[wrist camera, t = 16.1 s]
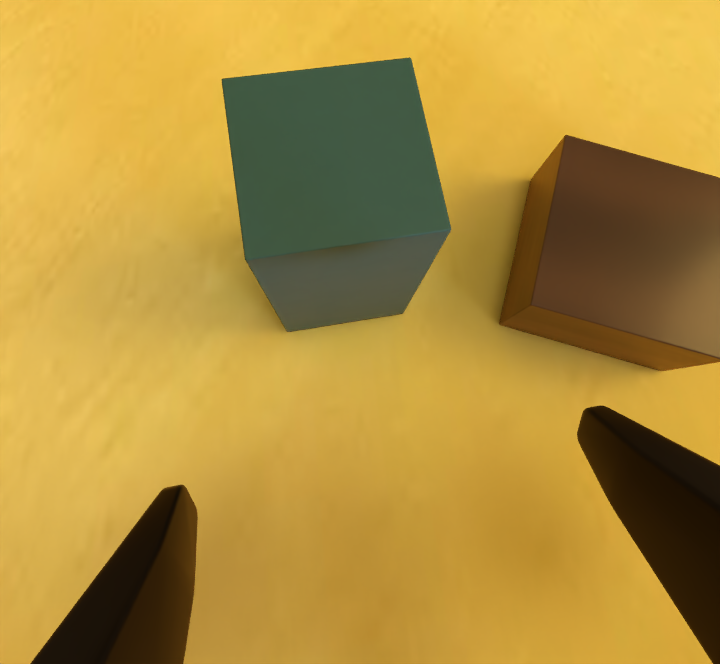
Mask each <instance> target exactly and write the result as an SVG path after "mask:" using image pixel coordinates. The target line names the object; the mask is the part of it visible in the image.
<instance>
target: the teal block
mask: <svg viewBox="0 0 720 664" xmlns="http://www.w3.org/2000/svg"><path fill="white" fill-rule="evenodd" d="M222 87H223V94H224V102H225V110H226V117H227V125H228V133H229V140H230V148H231V156H232V163H233V171H234V179H235V186H236V194H237V202H238V209H239V217H240V225H241V232H242V240H243V248H244V255H245V260H246V262H247V263H248V265H249V267H250V269H251V270H252V272H253V274H254V275H255V277H256V279H257V281H258V282H259V284H260V286H261V287H262V289H263V291H264V293H265V294H266V296H267V298H268V300H269V301H270V303H271V305H272V306H273V308H274V310H275V312H276V313H277V315H278V317H279V318H280V320H281V322H282V324H283V325H284V327H285V329H286V331H287V332H291V331H297V330H303V329H310V328H316V327H322V326H328V325H334V324H340V323H347V322H353V321H359V320H365V319H371V318H378V317H384V316H390V315H396V314H402V313H403V312H404V311H405V309H406V307H407V306H408V304H409V302H410V300H411V299H412V297H413V295H414V293H415V292H416V290H417V288H418V286H419V285H420V283H421V281H422V279H423V278H424V276H425V274H426V273H427V271H428V269H429V267H430V266H431V264H432V262H433V260H434V259H435V257H436V255H437V253H438V252H439V250H440V248H441V247H442V245H443V243H444V241H445V240H446V238H447V236H448V234H449V233H450V231H451V226H450V222H449V217H448V213H447V209H446V205H445V200H444V196H443V192H442V188H441V183H440V179H439V175H438V170H437V166H436V162H435V158H434V153H433V149H432V145H431V141H430V136H429V132H428V128H427V124H426V119H425V115H424V111H423V107H422V102H421V98H420V94H419V90H418V85H417V81H416V77H415V73H414V68H413V64H412V60H411V58H402V59H393V60H385V61H376V62H367V63H358V64H349V65H340V66H331V67H323V68H314V69H305V70H296V71H287V72H278V73H270V74H261V75H252V76H243V77H234V78H225V79H222Z"/></svg>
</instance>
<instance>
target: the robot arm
mask: <svg viewBox="0 0 720 664" xmlns="http://www.w3.org/2000/svg"><path fill="white" fill-rule="evenodd" d="M577 437H578V441H579V444H580V446H581V448H582V450H583V452H584V454H585V456H586V458H587V460H588V462H589V464H590V466H591V467H592V469H593V471H594V473H595V475H596V477H597V479H598V481H599V483H600V485H601V487H602V489H603V491H604V493H605V495H606V497H607V498H608V500H609V502H610V504H611V506H612V507H613V509H614V510H615V512H616V514H617V515H618V517H619V518H620V520H621V521H622V523H623V525H624V526H625V528H626V529H627V531H628V532H629V534H630V535H631V537H632V539H633V540H634V542H635V543H636V545H637V546H638V548H639V549H640V551H641V553H642V554H643V556H644V557H645V559H646V560H647V562H648V563H649V565H650V566H651V568H652V570H653V571H654V573H655V574H656V576H657V577H658V579H659V580H660V582H661V584H662V585H663V587H664V588H665V590H666V591H667V593H668V594H669V596H670V598H671V599H672V601H673V602H674V604H675V605H676V607H677V608H678V610H679V612H680V613H681V615H682V616H683V618H684V619H685V621H686V622H687V624H688V625H689V627H690V629H691V630H692V632H693V633H694V635H695V636H696V638H697V639H698V641H699V643H700V644H701V646H702V647H703V649H704V650H705V652H706V653H707V655H708V657H709V658H710V660H711V661H712V663H713V664H720V466H719V465H718V464H716V463H714V462H712V461H710V460H708V459H706V458H704V457H702V456H700V455H698V454H696V453H694V452H692V451H691V450H689V449H687V448H685V447H683V446H681V445H679V444H677V443H675V442H673V441H671V440H669V439H667V438H666V437H664V436H662V435H660V434H658V433H656V432H654V431H652V430H650V429H648V428H646V427H644V426H642V425H640V424H639V423H637V422H635V421H633V420H631V419H629V418H627V417H625V416H623V415H621V414H619V413H617V412H615V411H613V410H612V409H610V408H608V407H605V406H595V407H590V408H586V409H585V410H584V411H583V413H582V417H581V421H580V424H579V428H578V432H577ZM197 518H198V517H197V509H196V506H195V504H194V502H193V500H192V498H191V496H190V494H189V492H188V490H187V488H186V487H185V486H184V485H177V486H171V487H167V488H164V489H163V490H162V491H161V492H160V493H159V494H158V496H157V497H156V498H155V500H154V501H153V502H152V504H151V505H150V506H149V508H148V509H147V510H146V511H145V513H144V514H143V515H142V517H141V518H140V519H139V521H138V522H137V523H136V525H135V526H134V527H133V529H132V530H131V531H130V533H129V534H128V535H127V537H126V538H125V539H124V541H123V542H122V543H121V545H120V546H119V547H118V549H117V550H116V551H115V553H114V554H113V555H112V556H111V558H110V559H109V560H108V562H107V563H106V564H105V566H104V567H103V568H102V570H101V571H100V572H99V574H98V575H97V576H96V578H95V579H94V580H93V582H92V583H91V584H90V586H89V587H88V588H87V590H86V591H85V592H84V594H83V595H82V596H81V598H80V599H79V600H78V601H77V603H76V604H75V605H74V607H73V608H72V609H71V611H70V612H69V613H68V615H67V616H66V617H65V619H64V620H63V621H62V623H61V624H60V625H59V627H58V628H57V629H56V631H55V632H54V633H53V635H52V636H51V637H50V639H49V640H48V641H47V643H46V644H45V645H44V646H43V648H42V649H41V650H40V652H39V653H38V654H37V656H36V657H35V658H34V660H33V661H32V662H31V664H183V662H184V656H185V649H186V643H187V636H188V630H189V623H190V617H191V610H192V603H193V596H194V585H195V565H196V542H197Z"/></svg>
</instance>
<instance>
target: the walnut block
mask: <svg viewBox="0 0 720 664" xmlns="http://www.w3.org/2000/svg"><path fill="white" fill-rule="evenodd" d="M499 324H500V325H503V326H507V327H510V328H514V329H517V330H521V331H524V332H528V333H531V334H535V335H538V336H542V337H545V338H548V339H552V340H555V341H559V342H562V343H566V344H569V345H573V346H576V347H580V348H583V349H587V350H590V351H594V352H597V353H601V354H604V355H608V356H611V357H615V358H618V359H622V360H625V361H629V362H632V363H636V364H639V365H643V366H646V367H650V368H653V369H657V370H660V371H666V370H673V369H679V368H685V367H691V366H697V365H704V364H710V363H716V362H720V178H719V177H715V176H712V175H708V174H704V173H701V172H697V171H694V170H690V169H686V168H683V167H679V166H676V165H672V164H669V163H665V162H661V161H658V160H654V159H651V158H647V157H643V156H640V155H636V154H633V153H629V152H626V151H622V150H618V149H615V148H611V147H608V146H604V145H600V144H597V143H593V142H590V141H586V140H583V139H579V138H575V137H572V136H568V135H565V136H564V138H563V139H562V140H561V142H560V143H559V144H558V145H557V147H556V148H555V149H554V151H553V152H552V153H551V154H550V156H549V157H548V158H547V159H546V161H545V162H544V163H543V165H542V166H541V167H540V168H539V170H538V171H537V172H536V174H535V175H534V176H533V177H532V179H531V181H530V186H529V191H528V195H527V200H526V204H525V209H524V213H523V218H522V222H521V227H520V232H519V236H518V241H517V245H516V250H515V254H514V259H513V263H512V268H511V273H510V277H509V282H508V286H507V291H506V295H505V300H504V304H503V309H502V314H501V318H500V323H499Z"/></svg>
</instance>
